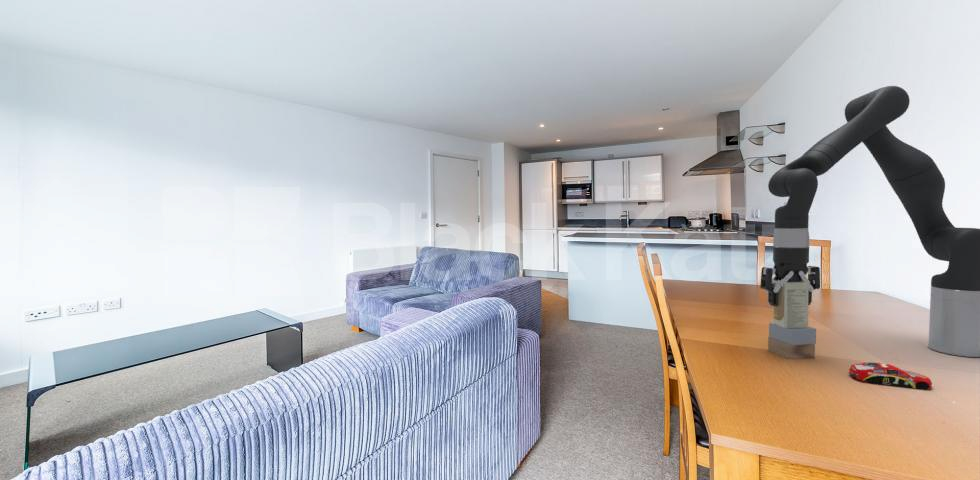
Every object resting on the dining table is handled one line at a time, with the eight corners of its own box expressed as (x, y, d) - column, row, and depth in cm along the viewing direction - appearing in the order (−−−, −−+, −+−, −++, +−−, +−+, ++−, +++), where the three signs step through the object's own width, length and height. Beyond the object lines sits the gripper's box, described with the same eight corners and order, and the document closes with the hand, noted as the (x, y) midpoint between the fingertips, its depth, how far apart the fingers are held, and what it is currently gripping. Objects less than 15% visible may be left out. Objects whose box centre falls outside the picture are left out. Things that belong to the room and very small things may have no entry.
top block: (792, 335, 106) (792, 321, 105) (815, 343, 99) (816, 328, 98) (769, 336, 105) (769, 322, 105) (791, 345, 98) (791, 330, 98)
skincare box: (796, 323, 103) (798, 279, 102) (808, 328, 99) (810, 282, 98) (771, 323, 104) (773, 279, 103) (783, 328, 99) (784, 282, 99)
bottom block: (792, 349, 106) (793, 335, 105) (814, 359, 99) (815, 344, 98) (768, 350, 105) (768, 336, 105) (788, 360, 98) (788, 345, 98)
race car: (922, 383, 84) (923, 365, 84) (938, 393, 79) (939, 375, 79) (845, 373, 90) (846, 357, 89) (856, 383, 85) (857, 365, 84)
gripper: (805, 243, 104) (804, 301, 105) (754, 245, 104) (753, 303, 105) (830, 245, 96) (828, 308, 97) (774, 247, 96) (773, 309, 97)
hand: (789, 305), depth 101 cm, fingers open, 8 cm apart
